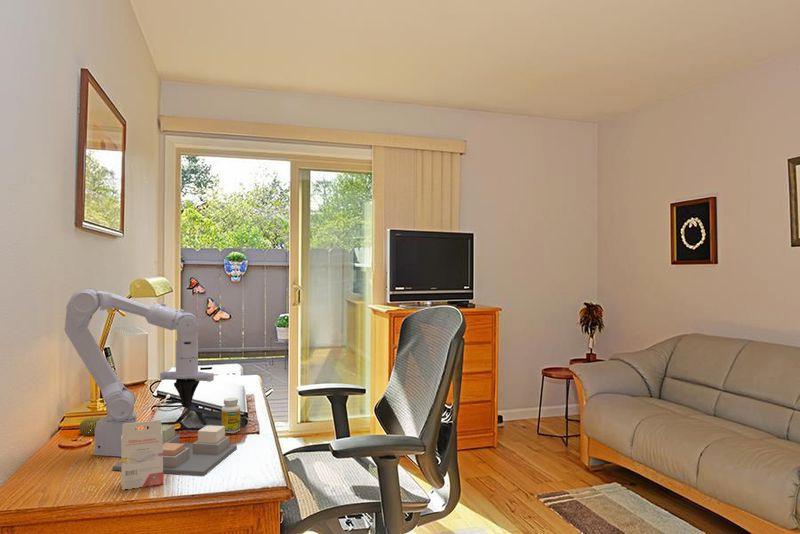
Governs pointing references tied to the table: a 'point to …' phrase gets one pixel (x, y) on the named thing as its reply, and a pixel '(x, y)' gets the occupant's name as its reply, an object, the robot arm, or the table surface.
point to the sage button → (168, 432)
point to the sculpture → (89, 425)
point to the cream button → (211, 434)
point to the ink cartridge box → (141, 455)
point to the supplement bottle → (231, 415)
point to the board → (194, 457)
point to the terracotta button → (172, 449)
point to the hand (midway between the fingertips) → (186, 406)
